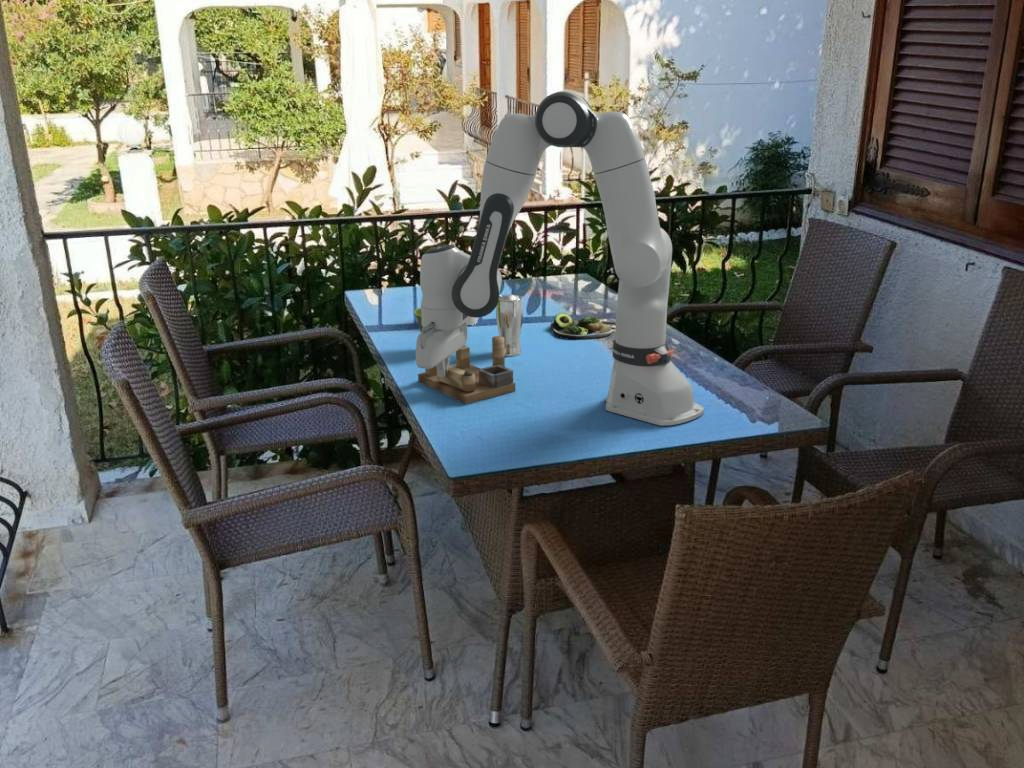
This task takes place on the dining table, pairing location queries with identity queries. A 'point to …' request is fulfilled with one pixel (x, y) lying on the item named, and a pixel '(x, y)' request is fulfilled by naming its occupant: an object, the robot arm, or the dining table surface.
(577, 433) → the dining table surface
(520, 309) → the beer glass
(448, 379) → the hinged leg
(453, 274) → the robot arm
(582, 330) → the salad plate
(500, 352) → the oak leg peg
